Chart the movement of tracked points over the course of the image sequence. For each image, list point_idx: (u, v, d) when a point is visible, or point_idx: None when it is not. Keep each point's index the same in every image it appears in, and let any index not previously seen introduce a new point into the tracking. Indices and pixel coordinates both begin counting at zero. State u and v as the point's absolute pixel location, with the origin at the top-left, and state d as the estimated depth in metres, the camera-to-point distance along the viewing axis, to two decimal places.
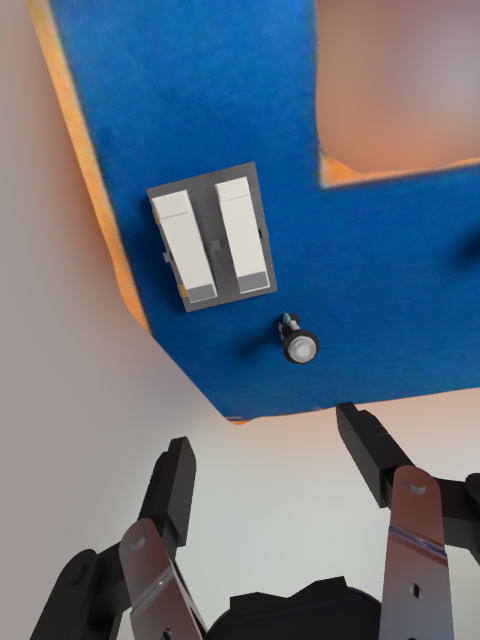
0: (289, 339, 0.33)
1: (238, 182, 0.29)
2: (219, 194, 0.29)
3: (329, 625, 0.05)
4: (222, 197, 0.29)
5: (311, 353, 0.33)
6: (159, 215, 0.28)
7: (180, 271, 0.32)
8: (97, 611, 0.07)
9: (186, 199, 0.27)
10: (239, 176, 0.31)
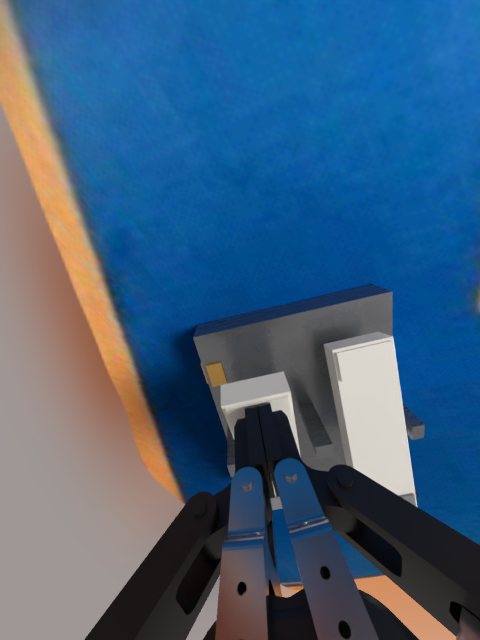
0: None
1: (378, 348, 0.15)
2: (339, 368, 0.15)
3: (329, 625, 0.05)
4: (345, 374, 0.15)
5: None
6: (232, 427, 0.14)
7: None
8: (207, 551, 0.08)
9: (290, 403, 0.13)
10: (361, 314, 0.17)
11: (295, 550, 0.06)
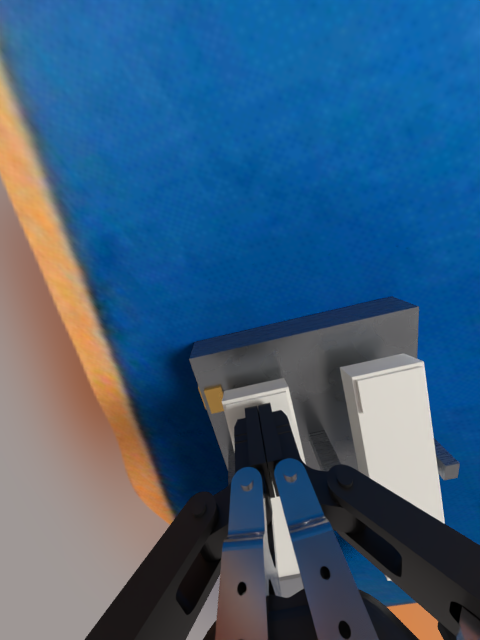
0: None
1: (406, 375, 0.13)
2: (360, 398, 0.13)
3: (329, 625, 0.05)
4: (367, 405, 0.13)
5: None
6: (232, 431, 0.14)
7: None
8: (207, 551, 0.08)
9: (289, 402, 0.14)
10: (382, 333, 0.15)
11: (295, 550, 0.06)
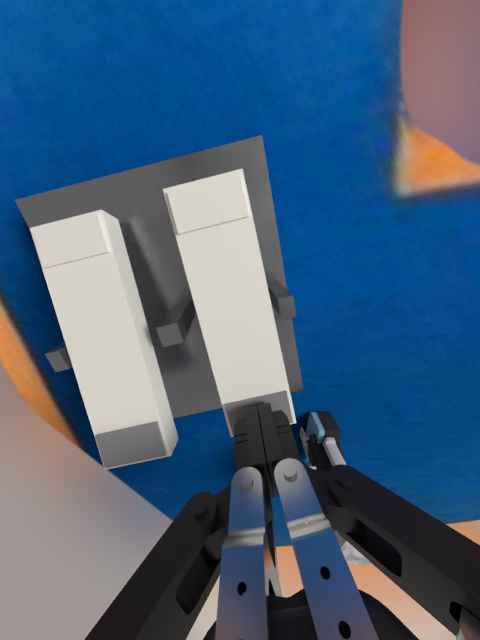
0: None
1: (222, 184, 0.11)
2: (174, 215, 0.11)
3: (329, 625, 0.05)
4: (182, 222, 0.11)
5: None
6: (42, 261, 0.12)
7: (83, 389, 0.13)
8: (207, 551, 0.08)
9: (103, 227, 0.12)
10: (227, 171, 0.14)
11: (295, 550, 0.06)
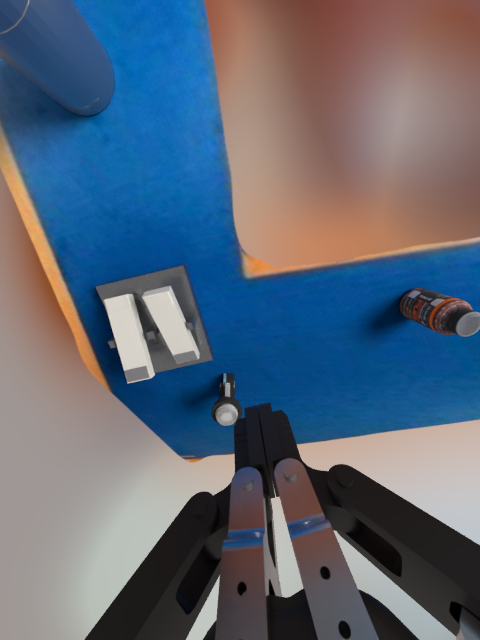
0: (216, 406, 0.40)
1: (162, 296, 0.33)
2: (147, 304, 0.34)
3: (329, 625, 0.05)
4: (150, 307, 0.34)
5: (233, 419, 0.40)
6: (107, 310, 0.37)
7: (120, 354, 0.38)
8: (207, 551, 0.08)
9: (128, 299, 0.37)
10: (171, 276, 0.38)
11: (295, 550, 0.06)
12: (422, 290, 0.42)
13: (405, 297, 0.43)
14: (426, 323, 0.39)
